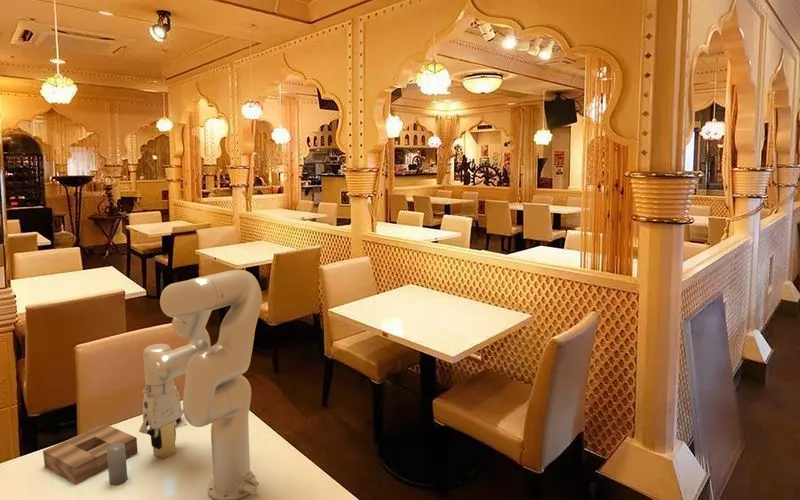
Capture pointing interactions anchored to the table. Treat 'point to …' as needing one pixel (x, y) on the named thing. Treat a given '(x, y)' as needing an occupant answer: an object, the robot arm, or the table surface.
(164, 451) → the square peg
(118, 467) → the round peg
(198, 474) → the table surface
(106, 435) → the socket block
